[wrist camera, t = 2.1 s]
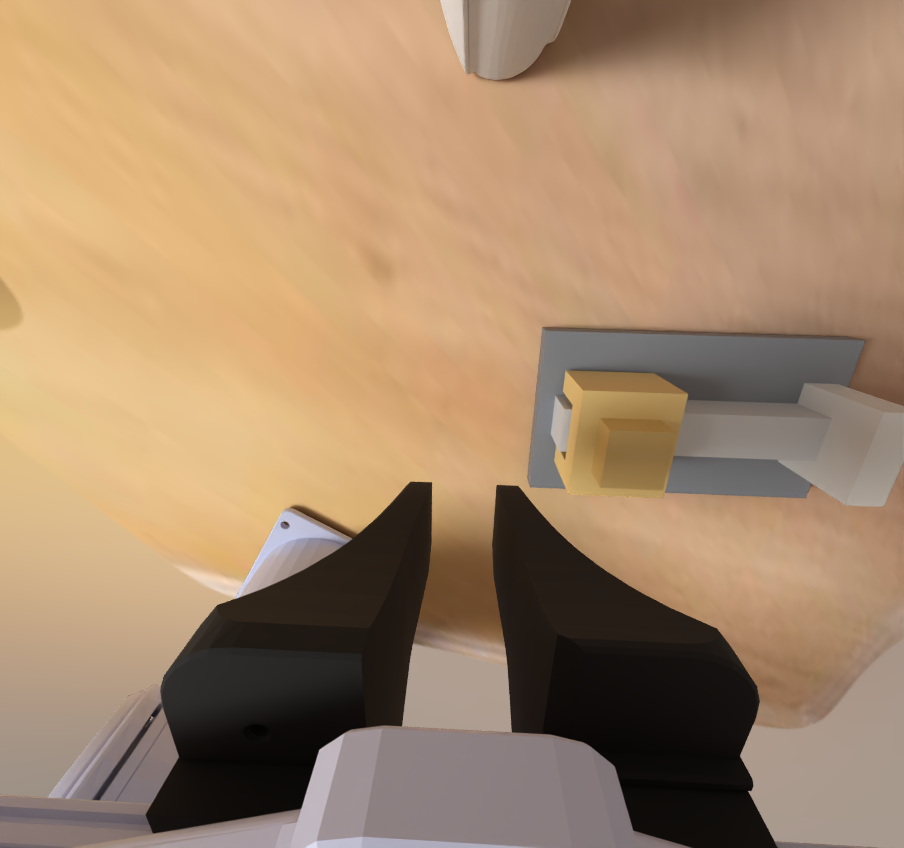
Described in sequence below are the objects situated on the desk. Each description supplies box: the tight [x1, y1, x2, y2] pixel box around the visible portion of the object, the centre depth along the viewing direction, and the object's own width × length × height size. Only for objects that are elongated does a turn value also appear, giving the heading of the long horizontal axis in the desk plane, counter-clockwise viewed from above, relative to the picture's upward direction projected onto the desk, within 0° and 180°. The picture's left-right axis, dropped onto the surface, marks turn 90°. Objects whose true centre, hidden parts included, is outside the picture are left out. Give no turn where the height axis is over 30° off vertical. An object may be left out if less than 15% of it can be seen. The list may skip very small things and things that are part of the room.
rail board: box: [527, 328, 904, 507], centre depth 19 cm, size 14×8×5 cm, turn 89°
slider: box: [554, 370, 688, 498], centre depth 18 cm, size 4×5×4 cm
